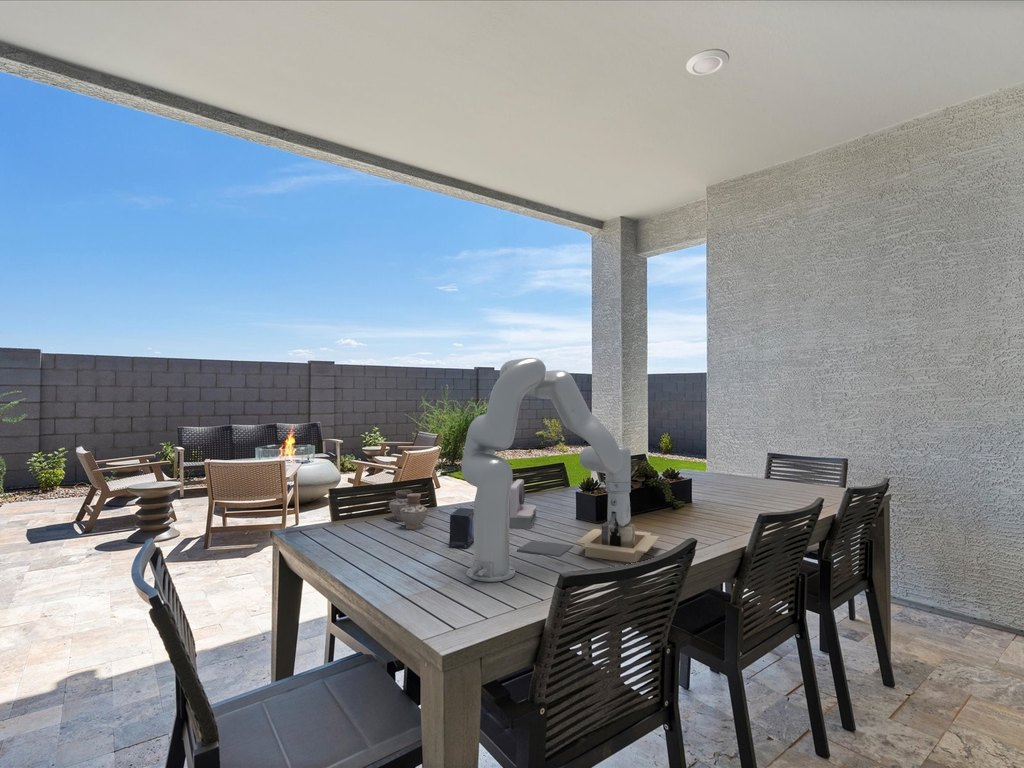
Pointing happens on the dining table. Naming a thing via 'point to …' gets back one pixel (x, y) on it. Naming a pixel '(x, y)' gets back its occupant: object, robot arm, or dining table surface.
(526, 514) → the grey l-shaped block
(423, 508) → the pottery
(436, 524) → the dining table surface
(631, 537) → the box
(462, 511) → the small box
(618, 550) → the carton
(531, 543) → the mat
